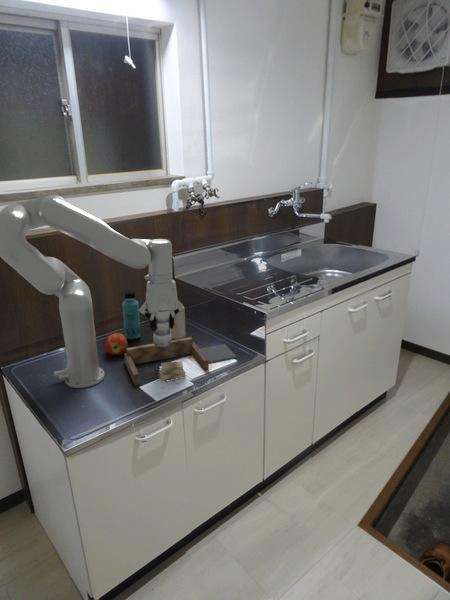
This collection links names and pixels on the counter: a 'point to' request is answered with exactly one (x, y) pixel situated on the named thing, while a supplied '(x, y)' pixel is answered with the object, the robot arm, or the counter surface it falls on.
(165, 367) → the top offcut
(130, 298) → the beverage bottle
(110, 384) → the counter surface
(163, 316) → the plastic bottle
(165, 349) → the frame
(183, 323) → the supplement box
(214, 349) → the mat
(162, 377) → the bottom offcut
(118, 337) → the apple
